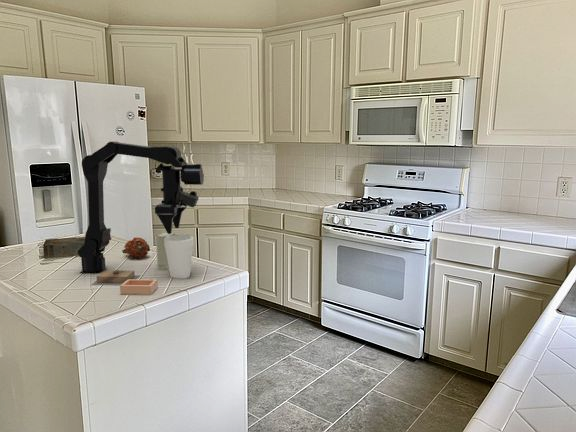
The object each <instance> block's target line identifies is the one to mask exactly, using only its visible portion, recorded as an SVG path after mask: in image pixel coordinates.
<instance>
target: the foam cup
mask: <svg viewBox="0 0 576 432" xmlns="http://www.w3.org/2000/svg"><path fill="white" fill-rule="evenodd" d="M194 241H195V240H194V236H192V235H188V234H178V235H177V234H175V235H174V236H168V237H166V238H164V246H165V249H166V254H167V260H168V266H169V270H168V271H169V275H170V277H171V278H174V279H180V280H184V279H188V278H191V269H192V259H193V258H192V257H193V250H194V249H193V248H194Z"/></svg>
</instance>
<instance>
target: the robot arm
mask: <svg viewBox="0 0 576 432" xmlns="http://www.w3.org/2000/svg"><path fill="white" fill-rule="evenodd" d="M118 155H121V156H122V155H124V156H130V157H139V158H146V159H150V160H153V161H155V162H159V165H158V166H157V167H156V168H155V171H156V172H161V176H162V177H161V179H162V187H161V188H160V192H162V196H163V197H162V198H163V199H162V200H161V202H160V203H158V204H157V205H156V206H155V207H154V214H155V215H156V216H157V217H158V218H159V220H160V222H161V224H162V226H163V228H164V230H165V231H166V233H168V234H171V233H173V231H172V230H173V226H174V228H175V229H179V228H180V225H181V224H180V223H181V220H182V214H183V212H184V211H185V210H186V209H187V207H189V208H194V207H197V204H198V201H199V196H198V195H197V194H198V192H197V191H194V190H192V191H190V192H186V191H184V188H183V187H182V186H181V182H182V183H183V184H184V185H186V186H187V185H188V186H189V185H190V186H191V185H193V186H194V185H195V186H197V185H198V186H200V185H201V186H202V185H203V184H204V181H205V179H204V177H205V175H204V171H203V167H202V166H203V165H202V164H201V163H197V164H188V163H187V162H186V161H185V159H184V158H183V156H182V153H181V150H180V149H179V147H177V146H174V145H168V146H165V145H164V146H148V145H139V144H134V143H133V144H132V143H125V142H119V141H108V142H107V143H106V144H104V145H103V146H102V147H101V148H99V149H98V150H96V151H94V152H93V153H91V154H88V155H85V156H84V157H83V158H82V160H81V168H82V173H83V175H84V178H85V179H86V181H87V199H88V200H87V201H88V203H87V204H88V205H87V206H88V226H87V229H86V232H85V235H84V237H85V241H84V245H83V246H82V247H81V248H80V249H79V250H78V251H77V252H78V255H79V256H78V257H79V258H80V259H81V260H80V261H81V270H82V271H79V274H91V275H92V274H94V275H95V274H96V275H97V274H98V275H99V274H101V273H102V272H104V271H105V270H107V267H106V258H105V257H104V252H105V249H106V247H107V246H108V245H109V244H110V241H111V240H112V237H111V231H112V230H111V229H112V228H110V227H108V228H107V226H106V225H105V210H104V209H105V207H104V206H105V205H104V180H105V178H106V176H107V171H108V166H109V165H108V164H110V163H111V162H112V161H113V160H114V159H115V158H116V157H117V156H118Z"/></svg>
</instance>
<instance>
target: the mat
mask: <svg viewBox="0 0 576 432" xmlns="http://www.w3.org/2000/svg"><path fill="white" fill-rule="evenodd" d="M140 277H141V274H140V275H139V274H137V275H136V274H135V277H134V278H133V279H139V278H140ZM122 284H123V283H97V280H96V281H94V282H93V283H91V284H90V286H120V285H122Z"/></svg>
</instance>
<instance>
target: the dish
mask: <svg viewBox="0 0 576 432" xmlns="http://www.w3.org/2000/svg"><path fill="white" fill-rule="evenodd" d="M158 285H159V284H158V279H140V278H137V279H128V280H126V281H125V282H124V283H123V284H122V285H119V291H120V294H119V295H122V296H124V295H125V296H126V295H129V296H130V295H131V296H133V295H135V296H152V295H153V294H154V293H155V292H156V291H157V290H158V288H159V287H158Z"/></svg>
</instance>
